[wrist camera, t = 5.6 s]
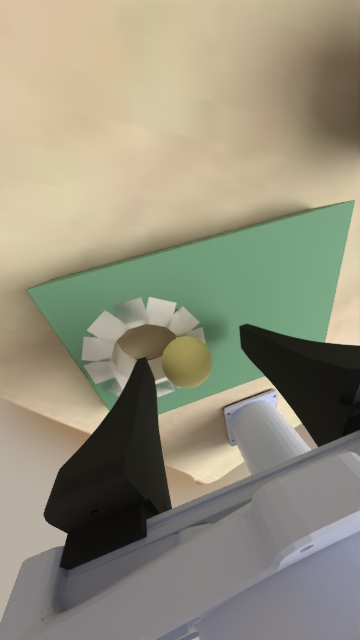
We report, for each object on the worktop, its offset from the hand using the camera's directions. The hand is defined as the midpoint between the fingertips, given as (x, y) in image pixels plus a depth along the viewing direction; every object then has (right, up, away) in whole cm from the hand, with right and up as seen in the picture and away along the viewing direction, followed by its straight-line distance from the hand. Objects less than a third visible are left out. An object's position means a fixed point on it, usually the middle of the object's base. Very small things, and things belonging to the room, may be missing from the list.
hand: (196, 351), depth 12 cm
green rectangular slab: (+1, +3, +4) cm, 5 cm away
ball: (-1, -1, 0) cm, 1 cm away
